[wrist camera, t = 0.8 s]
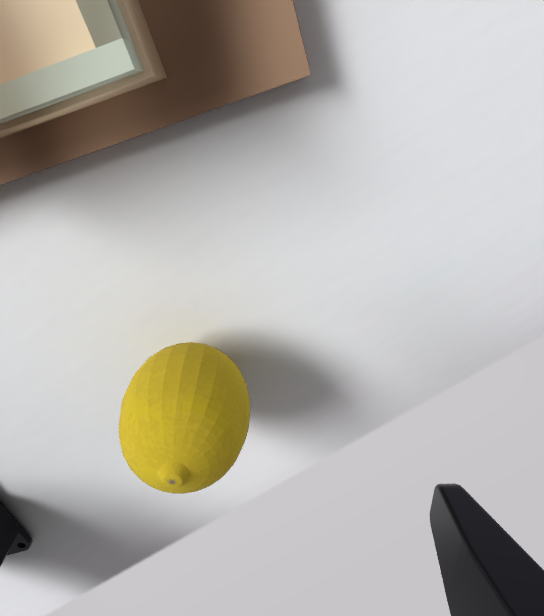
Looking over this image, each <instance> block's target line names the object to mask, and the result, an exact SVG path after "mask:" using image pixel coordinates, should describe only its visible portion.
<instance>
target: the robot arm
mask: <svg viewBox="0 0 544 616" xmlns="http://www.w3.org/2000/svg"><path fill="white" fill-rule="evenodd" d="M430 523H431V528H432V533H433V537H434V541H435V546H436V551H437V556H438V560H439V565H440V569H441V574H442V578H443V583H444V587H445V592H446V596H447V601H448V605H449V609H450V613H451V616H544V570H543V569H542V568H541V567H540V566H539V565H538V564H537V563H536V562H535V561H534V560H533V559H532V558H531V557H530V556H529V555H528V554H527V553H526V552H525V551H524V550H523V549H522V548H521V547H520V546H519V545H518V544H517V543H516V542H515V541H514V540H513V538H512V537H511V536H510V535H509V534H508V533H507V532H506V531H505V530H504V529H503V528H502V527H501V526H500V525H499V524H498V523H497V522H496V521H495V520H494V519H493V518H492V517H491V516H490V515H489V514H488V513H487V512H486V511H485V510H484V509H483V508H482V507H481V506H480V505H479V504H478V503H477V502H476V501H475V500H474V499H473V498H472V497H471V496H470V495H469V494H468V493H467V492H466V491H465V490H464V489H463V488H462V487H461V486H460V485H458V484H438V485H437V486H436V487H435V489H434V494H433V500H432V505H431V510H430ZM31 544H32V538H31V537H30V535H29V534H28V533H27V532H26V531H25V530H24V528H23V527H22V526H21V525H20V524H19V522H18V521H17V520H16V519H15V518H14V516H13V515H12V514H11V513H10V512H9V511H8V509H7V508H6V507H5V506H4V505H3V503H2V502H1V501H0V567H1V565H2V563H3V561H4V559H5V557H6V555H10V554H14V553H17V552H21V551H25V550H28V549H29V548H30V546H31Z"/></svg>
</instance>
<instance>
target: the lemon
mask: <svg viewBox="0 0 544 616" xmlns="http://www.w3.org/2000/svg"><path fill="white" fill-rule="evenodd" d="M249 418H250V399H249V394H248V389H247V385H246V382H245V379H244V377H243V376H242V374H241V372H240V370H239V368H238V367H237V365H236V364H235V363H234V362H233V361H232V360H231V359H230V358H229V357H228V356H227V355H226V354H224V353H222V352H221V351H219V350H218V349H216V348H214V347H211V346H208V345H205V344H200V343H192V342H191V343H180V344H176V345H173V346H170V347H166V348H164V349H162V350H161V351H159V352H157V353H156V354H154V355H153V356H151V357H150V358H149V359H148V360H147V361H146V362H145V363H144V364H143V365H142V366H141V367H140V368H139V370H138V371H137V372H136V373H135V375H134V376H133V378H132V380H131V382H130V384H129V387H128V389H127V391H126V393H125V395H124V398H123V401H122V406H121V414H120V422H119V438H120V443H121V447H122V452H123V455H124V457H125V460H126V461H127V463H128V465H129V467H130V468H131V470H132V471H133V472H134V473H135V474H136V475H137V476H138V477H139V478H140V479H141V480H142V481H143V482H145V483H146V484H148V485H149V486H151V487H153V488H155V489H158V490H161V491H163V492H169V493H189V492H194V491H198V490H201V489H203V488H206V487H208V486H210V485H212V484H213V483H215V482H216V481H218V480H219V479H221V478H222V477H223V476H224V475H225V474H226V473H227V471H228V470H229V469H230V468H231V467H232V466H233V464H234V463H235V461H236V459H237V457H238V455H239V453H240V451H241V449H242V446H243V444H244V442H245V439H246V436H247V432H248V427H249Z"/></svg>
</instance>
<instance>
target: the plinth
mask: <svg viewBox="0 0 544 616" xmlns="http://www.w3.org/2000/svg"><path fill="white" fill-rule="evenodd" d="M309 75H311V73H310V69H309V65H308V61H307V57H306V53H305V49H304V45H303V41H302V37H301V33H300V29H299V25H298V21H297V17H296V13H295V9H294V5H293V1H292V0H0V185H2V184H5V183H8V182H10V181H13V180H16V179H19V178H22V177H25V176H27V175H30V174H33V173H36V172H39V171H41V170H44V169H47V168H50V167H53V166H56V165H58V164H61V163H64V162H67V161H70V160H72V159H75V158H78V157H81V156H84V155H87V154H89V153H92V152H95V151H98V150H101V149H104V148H106V147H109V146H112V145H115V144H118V143H120V142H123V141H126V140H129V139H132V138H135V137H137V136H140V135H143V134H146V133H149V132H151V131H154V130H157V129H160V128H163V127H166V126H168V125H171V124H174V123H177V122H180V121H182V120H185V119H188V118H191V117H194V116H197V115H199V114H202V113H205V112H208V111H211V110H213V109H216V108H219V107H222V106H225V105H228V104H230V103H233V102H236V101H239V100H242V99H244V98H247V97H250V96H253V95H256V94H259V93H261V92H264V91H267V90H270V89H273V88H276V87H278V86H281V85H284V84H287V83H290V82H292V81H295V80H298V79H301V78H304V77H307V76H309Z"/></svg>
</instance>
